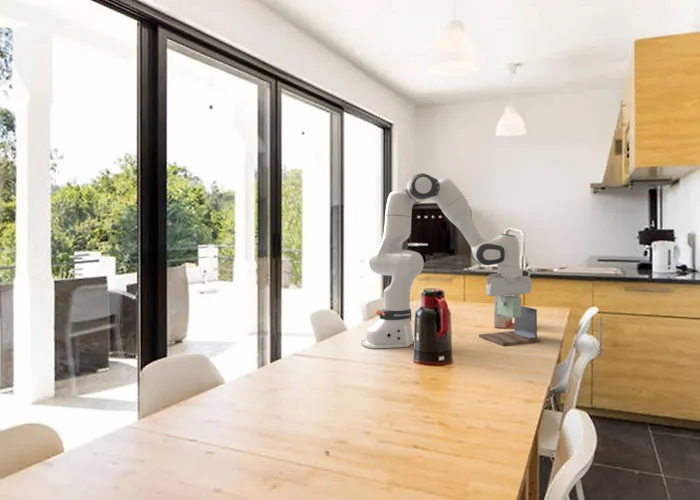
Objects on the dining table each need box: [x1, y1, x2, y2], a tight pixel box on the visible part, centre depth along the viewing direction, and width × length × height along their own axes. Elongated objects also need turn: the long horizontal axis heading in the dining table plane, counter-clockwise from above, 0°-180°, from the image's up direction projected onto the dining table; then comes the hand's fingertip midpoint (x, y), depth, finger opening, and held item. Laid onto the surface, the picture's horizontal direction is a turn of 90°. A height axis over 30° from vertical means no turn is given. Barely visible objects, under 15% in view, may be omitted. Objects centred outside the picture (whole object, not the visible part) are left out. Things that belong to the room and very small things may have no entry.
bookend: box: [509, 305, 538, 339], centre depth 221 cm, size 4×14×12 cm, turn 18°
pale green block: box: [497, 295, 522, 319], centre depth 219 cm, size 4×11×8 cm, turn 18°
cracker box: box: [493, 295, 513, 329], centre depth 248 cm, size 14×6×21 cm, turn 151°
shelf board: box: [478, 330, 542, 347], centre depth 220 cm, size 18×18×1 cm
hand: (509, 305), depth 219 cm, fingers closed on pale green block, 4 cm apart
